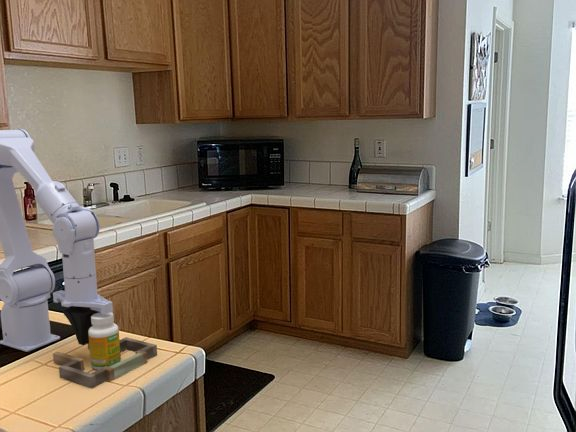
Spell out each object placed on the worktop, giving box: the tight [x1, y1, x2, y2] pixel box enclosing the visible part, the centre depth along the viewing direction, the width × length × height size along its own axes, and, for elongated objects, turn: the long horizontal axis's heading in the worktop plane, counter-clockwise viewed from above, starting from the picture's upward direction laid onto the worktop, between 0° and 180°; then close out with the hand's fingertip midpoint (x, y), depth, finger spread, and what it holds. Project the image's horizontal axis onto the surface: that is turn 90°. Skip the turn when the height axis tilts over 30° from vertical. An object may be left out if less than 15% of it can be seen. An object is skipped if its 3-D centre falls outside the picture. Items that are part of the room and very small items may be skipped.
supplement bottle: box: [88, 312, 122, 371], centre depth 104 cm, size 5×5×10 cm
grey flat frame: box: [52, 336, 158, 389], centre depth 105 cm, size 16×16×2 cm
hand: (85, 342), depth 107 cm, fingers closed
